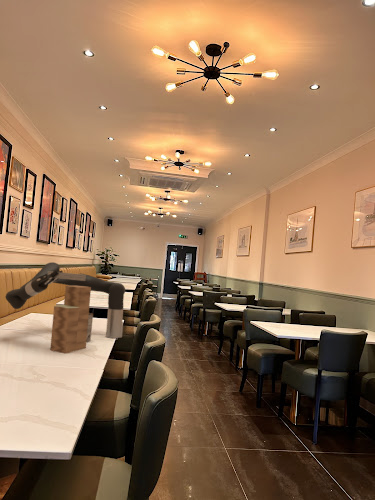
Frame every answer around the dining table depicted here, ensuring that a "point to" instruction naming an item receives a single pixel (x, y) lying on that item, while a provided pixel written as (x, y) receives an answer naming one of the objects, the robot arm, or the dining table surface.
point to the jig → (71, 320)
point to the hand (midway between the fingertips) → (59, 272)
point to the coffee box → (89, 327)
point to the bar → (70, 276)
